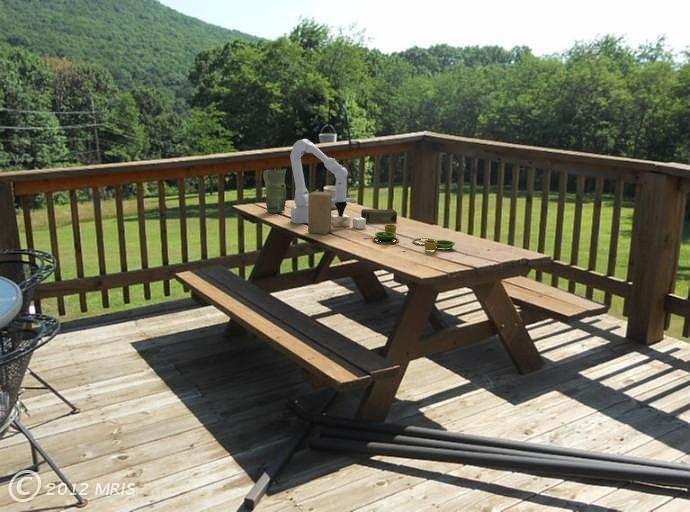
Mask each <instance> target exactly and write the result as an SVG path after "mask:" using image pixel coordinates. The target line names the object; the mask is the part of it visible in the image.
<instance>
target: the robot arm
mask: <svg viewBox="0 0 690 512" xmlns="http://www.w3.org/2000/svg"><path fill="white" fill-rule="evenodd" d="M305 153H308V154H313V156H315V157H317V158H318V159H319V160H320V161H321V162H323V164H324V168H326V169H327V170H328V171H329V172H331V173H332V174H333V175H334V177H335V197H334V198H332V199H331V204H334V206H335V208H336V211H337V213H338V214H337V215H339V216H343V214H345V213H344V212H345V209H346V207H347V206H348V203H354V202H355V198H353V197H347V186H348V185H347V184H348V182H347V177H348V174H349V172H348V170H347V168H346V167H345V166H343V165H342V164H339V162H337V161H336V158H332V157H328V156H327V154H325V153H323V151H322V150H321V149H319V147H317V146H316V145H315V144H314V143H313V142H312V141H311V140H309V139H308V138H303V139H299V140H296V141H295V142H294V144H293V145H292V149H291V152H290V155H289V157H290V162H291V168H292V169H291V170H292V175H293V180H294V184H295V185H294V186H295V192H294V204H295V205H294V206H291V207H290V222H291V223H294V224H299V225H300V224H308V195H309V194H310V193H309V191H308V189H307V187H306V182H305V177H304V171H303V170H304V169H303V165H302V159H301V158H302V156H303V155H304V154H305Z"/></svg>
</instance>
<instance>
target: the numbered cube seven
mask: <svg viewBox="0 0 690 512" xmlns="http://www.w3.org/2000/svg"><path fill="white" fill-rule="evenodd" d="M366 226H367V223H366V219H364V218H362V217H361V216H360V217H352V228H354V227H355V228H354V229H356V228H363V229H367V228H366Z"/></svg>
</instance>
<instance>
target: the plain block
mask: <svg viewBox="0 0 690 512" xmlns="http://www.w3.org/2000/svg"><path fill="white" fill-rule="evenodd" d="M332 224H333V225H332ZM331 225H332V226H334V225H335V226H334V227H336V226H341V227H351V216H349V215H347V214H345V213H343V216H339V215H338V214H331Z"/></svg>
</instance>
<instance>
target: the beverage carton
mask: <svg viewBox="0 0 690 512" xmlns="http://www.w3.org/2000/svg"><path fill="white" fill-rule="evenodd" d="M360 217H362V218H364V219H366V222H373V223H378V224H379V223H397V220H398V212H397V211H396V210H395V209H376V208H374V209H369V208H368V209H366V208H365V209H361V212H360Z"/></svg>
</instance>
